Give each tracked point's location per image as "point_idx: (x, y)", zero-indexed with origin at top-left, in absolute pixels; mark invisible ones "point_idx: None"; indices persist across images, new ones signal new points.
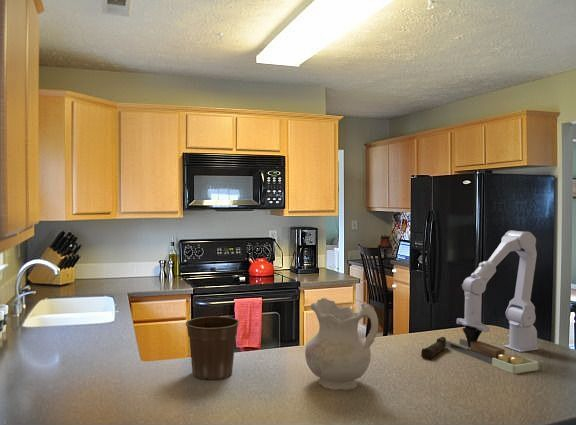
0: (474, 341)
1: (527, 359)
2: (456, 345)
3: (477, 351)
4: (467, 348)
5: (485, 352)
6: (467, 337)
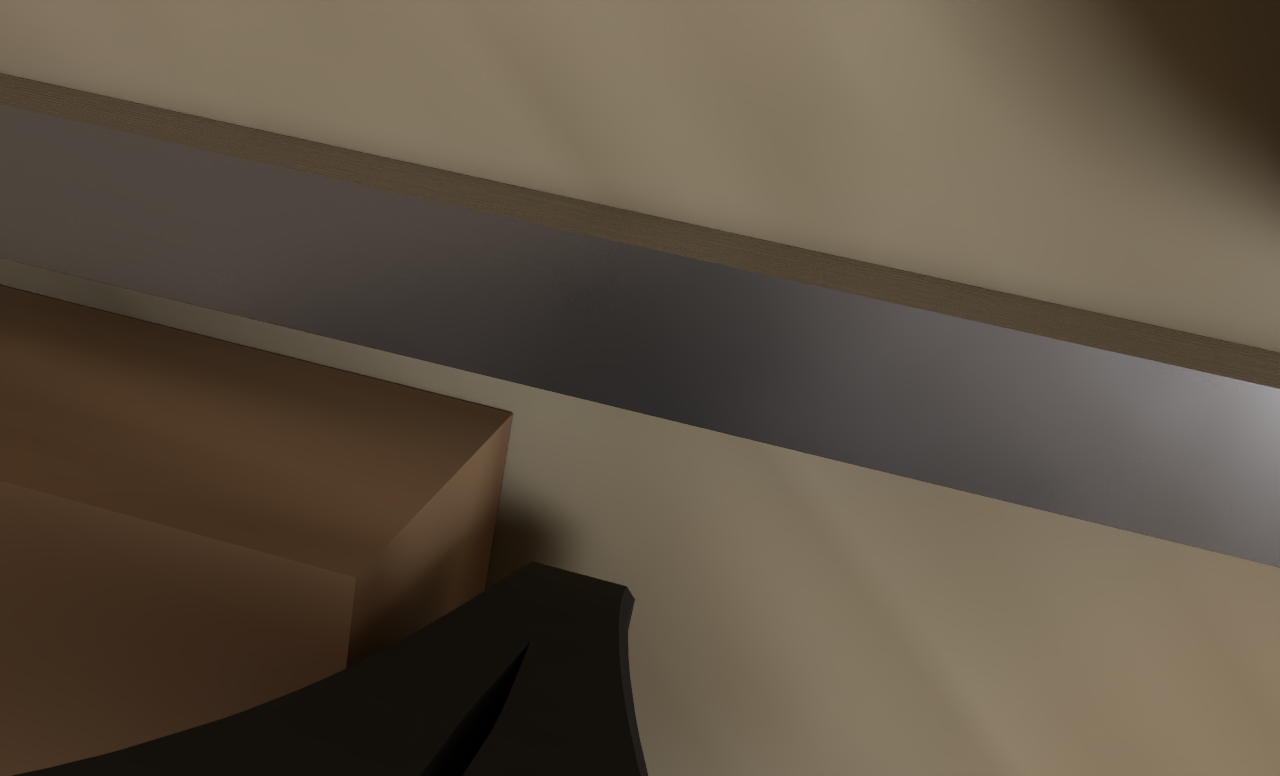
0: None
1: None
2: (986, 326)
3: (149, 378)
4: (456, 315)
5: None
6: (549, 772)
